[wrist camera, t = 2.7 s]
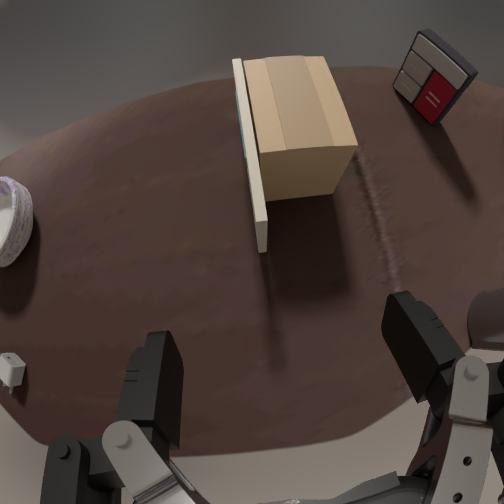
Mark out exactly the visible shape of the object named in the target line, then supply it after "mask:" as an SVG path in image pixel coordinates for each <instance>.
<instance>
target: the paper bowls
mask: <svg viewBox="0 0 504 504" xmlns="http://www.w3.org/2000/svg"><path fill="white" fill-rule="evenodd" d="M32 227H33V213H32V200H31V196H30V193H29V191H28V190H27V189H26V188H25V187H24V186H22V185H21V184H19V183H18V182H16V181H14V180H13V179H11V178H9V177H0V267H6V266H8V265H10V264H11V263H12V262H13V261H14V260H15V259H16V258H17V257H18V256H19V254H20V253H21V251H22V250H23V249H24V248H25V246H26V245H27V243H28V241H29V238H30V235H31V232H32Z"/></svg>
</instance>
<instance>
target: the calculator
mask: <svg viewBox="0 0 504 504" xmlns="http://www.w3.org/2000/svg"><path fill="white" fill-rule="evenodd" d="M477 74H478V71H477V70H476V69H475V68H474V67H473V66H472V65H471V64H470V63H469V62H468V61H467V60H466V59H465V58H464V57H462V56H461V55H460V54H459V53H458V52H457V51H456V50H455V49H454V48H452V47H451V46H450V45H449V44H448V43H447V42H445V41H444V40H443V39H442V38H441V37H439V36H438V35H437V34H436V33H434V32H433V31H432V30H430V29H424V30H420V31H418V32H417V34H416V36H415V39H414V41H413V43H412V45H411V47H410V50H409V52H408V54H407V56H406V58H405V60H404V62H403V64H402V66H401V69H400V71H399V73H398V75H397V77H396V79H395V81H394V83H393V87H394V88H395V89H396V90H397V91H398V92H400V93H401V94H402V95H403V96H404V97H405V98H406V99H407V100H408V101H409V102H410V103H411V104H412V105H413V106H414V107H415V108H416V109H417V110H418V111H419V112H420V113H421V114H422V115H423V116H424V117H425V118H426V119H427V121H428V122H429V123H430V124H431V125H433V126H434V125H436V124H437V123H439V122H440V121H441V120H442V119H443V118H444V116H445V115H446V114H447V113H448V111H449V110H450V109H451V108H452V106H453V105H454V104H455V102H456V101H457V100H458V99H459V97H460V96H461V95H462V93H463V92H464V91H465V89H466V88H467V87H468V86H469V85H470V84H471V82H472V81H473V80H474V78H475V77H476V75H477Z"/></svg>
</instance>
